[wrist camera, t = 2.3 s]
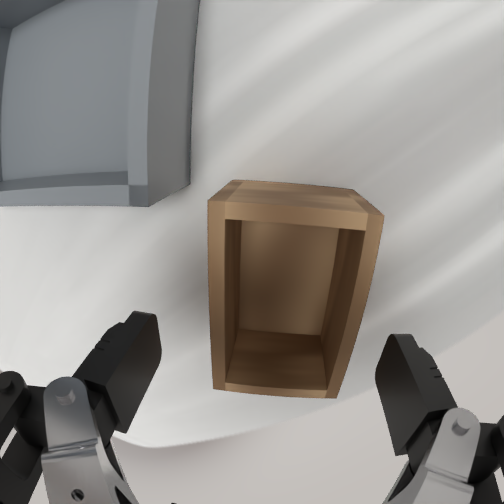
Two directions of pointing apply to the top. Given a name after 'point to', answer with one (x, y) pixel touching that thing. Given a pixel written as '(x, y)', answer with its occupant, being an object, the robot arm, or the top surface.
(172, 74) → the grey bin
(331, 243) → the wood crate
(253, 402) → the top surface
